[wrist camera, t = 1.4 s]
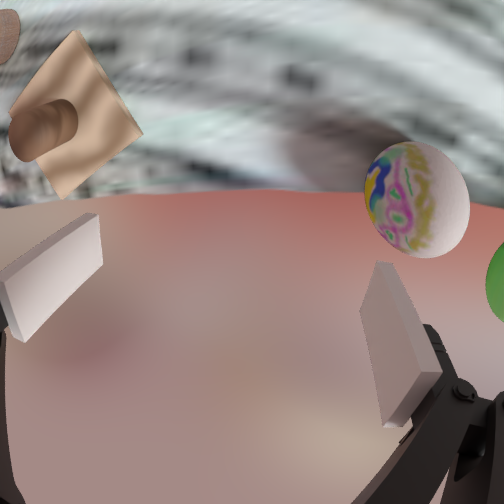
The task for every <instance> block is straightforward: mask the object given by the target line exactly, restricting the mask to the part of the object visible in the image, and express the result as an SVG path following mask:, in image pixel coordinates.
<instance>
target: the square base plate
mask: <svg viewBox="0 0 504 504" xmlns="http://www.w3.org/2000/svg"><path fill="white" fill-rule="evenodd" d="M9 114H10V116H11V118H12V121H11V123H10V126H9V142H10V146H11V149H12V151H13V153H14V154H15V155H16V157H17V158H18V159H20V160H21V161H23V162H31V161H33V160H34V159H35V160H36V161H37V163H38V165H39V166H40V168H41V169H42V171H43V173H44V174H45V176H46V177H47V179H48V180H49V182H50V183H51V185H52V186H53V188H54V189H55V191H56V192H57V194H58V195H59V197H60V198H61V200H63V199H64V198H65V197H67V196H68V195H69V194H70V193H71V192H72V191H73V190H74V189H76V188H77V187H78V186H79V185H80V184H81V183H82V182H84V181H85V180H86V179H87V178H88V177H90V176H91V175H92V174H93V173H94V172H95V171H97V170H98V169H99V168H100V167H102V166H103V165H104V164H105V163H107V162H108V161H109V160H110V159H112V158H113V157H114V156H115V155H117V154H118V153H119V152H121V151H122V150H123V149H124V148H126V147H127V146H128V145H130V144H131V143H132V142H134V141H135V140H137V139H138V138H139V137H141V136H142V135H143V133H142V131H141V129H140V128H139V126H138V125H137V123H136V122H135V120H134V118H133V117H132V115H131V114H130V112H129V111H128V109H127V107H126V106H125V104H124V103H123V101H122V99H121V98H120V96H119V95H118V93H117V91H116V90H115V88H114V87H113V85H112V83H111V82H110V80H109V79H108V77H107V75H106V74H105V72H104V70H103V69H102V67H101V66H100V64H99V62H98V61H97V59H96V57H95V56H94V54H93V52H92V51H91V49H90V47H89V46H88V44H87V42H86V41H85V39H84V37H83V36H82V34H81V32H80V31H79V30H78V31H72V32H71V33H70V34H69V35H68V36H67V37H66V39H65V40H64V41H63V42H62V43H61V44H60V45H59V46H58V47H57V49H56V50H55V51H54V52H53V53H52V54H51V56H50V57H49V58H48V59H47V60H46V62H45V63H44V64H43V65H42V67H41V68H40V69H39V70H38V72H37V73H36V74H35V75H34V77H33V78H32V79H31V81H30V82H29V83H28V85H27V86H26V88H25V89H24V90H23V92H22V93H21V95H20V96H19V97H18V99H17V100H16V102H15V103H14V105H13V106H12V108H11V109H10V111H9Z"/></svg>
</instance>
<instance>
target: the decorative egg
mask: <svg viewBox="0 0 504 504" xmlns="http://www.w3.org/2000/svg"><path fill="white" fill-rule="evenodd" d="M364 194H365V202H366V207H367V211H368V214H369V216H370V218H371V221H372V223H373V224H374V226H375V228H376V229H377V230H378V232H379V233H380V234H381V236H382V237H383V238H384V239H385V240H386V241H387V242H388V243H390V244H391V245H392V246H393V247H395V248H396V249H398V250H400V251H401V252H403V253H405V254H408V255H411V256H414V257H419V258H433V257H438V256H441V255H444V254H445V253H447V252H448V251H450V250H451V249H453V248H454V247H455V246H456V245H457V244H458V243H459V242H460V240H461V239H462V237H463V235H464V233H465V231H466V228H467V226H468V221H469V215H470V201H469V195H468V190H467V187H466V184H465V181H464V179H463V177H462V175H461V173H460V171H459V170H458V168H457V167H456V166H455V164H454V163H453V162H452V161H451V160H450V159H449V158H448V157H447V156H446V155H445V154H444V153H442V152H441V151H440V150H438V149H436V148H434V147H432V146H430V145H427V144H424V143H420V142H411V141H409V142H401V143H397V144H394V145H392V146H390V147H388V148H387V149H385V150H384V151H382V152H381V153H380V154H379V155H378V156H377V157H376V158H375V160H374V161H373V163H372V164H371V166H370V168H369V170H368V173H367V176H366V180H365V187H364Z"/></svg>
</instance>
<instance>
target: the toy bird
mask: <svg viewBox="0 0 504 504" xmlns="http://www.w3.org/2000/svg"><path fill="white" fill-rule="evenodd" d="M486 295H487V299H488V302H489V305H490V307H491V309H492V311H493V312H494V313H495V315H496V316H497V317H498V318H499V319H500V320H501V321H503V322H504V243H503V244H502V245H501V246H500V247H499V248H498V250H497V251H496V252H495V254H494V256H493V258H492V260H491V262H490V264H489V267H488V271H487V276H486Z"/></svg>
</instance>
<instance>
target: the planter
mask: <svg viewBox="0 0 504 504" xmlns="http://www.w3.org/2000/svg"><path fill="white" fill-rule="evenodd" d="M19 35H20V20H19V16H18V14H17V13H16V12H15V11H14V10H12V9H2V10H0V64H3V63H5V62H6V61H7V60H8V59H9V58H10V57H11V55H12V54H13V52H14V50H15V48H16V46H17V43H18V40H19Z"/></svg>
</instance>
